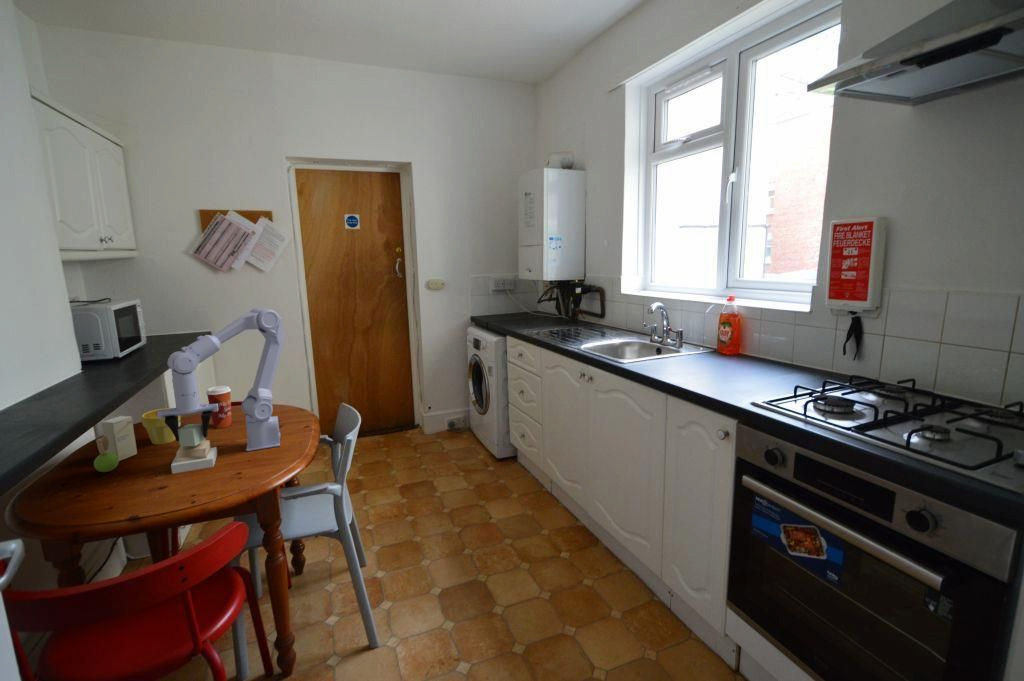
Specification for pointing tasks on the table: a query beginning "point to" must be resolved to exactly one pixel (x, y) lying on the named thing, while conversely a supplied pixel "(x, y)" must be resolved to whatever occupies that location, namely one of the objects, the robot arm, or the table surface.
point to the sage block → (191, 435)
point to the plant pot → (158, 427)
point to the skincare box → (120, 436)
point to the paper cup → (220, 405)
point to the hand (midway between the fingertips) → (192, 438)
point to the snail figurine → (105, 456)
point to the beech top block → (194, 451)
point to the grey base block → (195, 463)
